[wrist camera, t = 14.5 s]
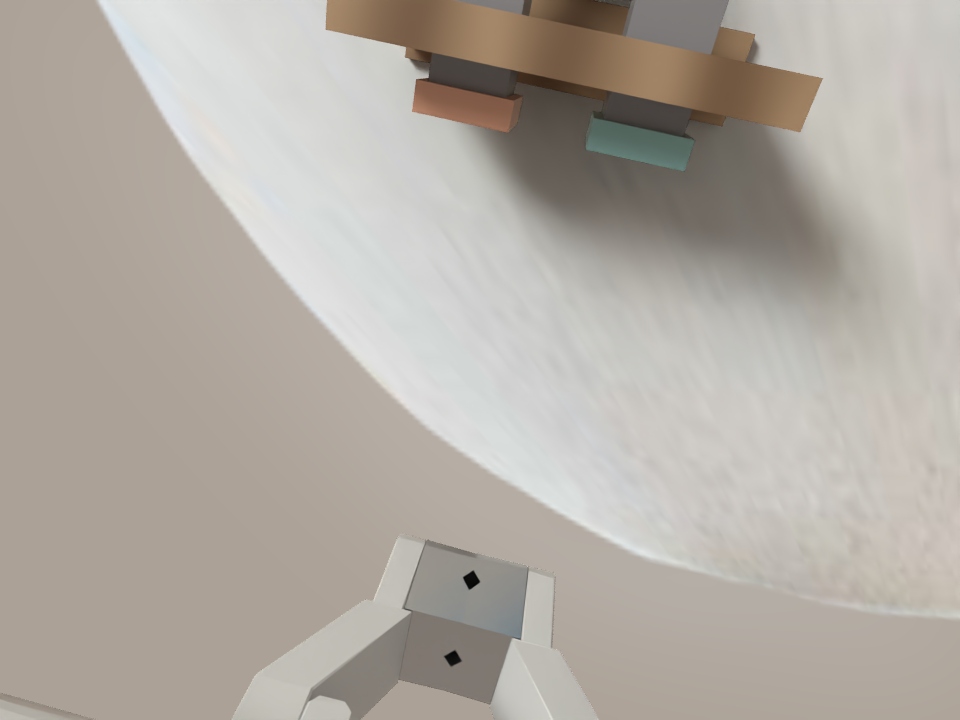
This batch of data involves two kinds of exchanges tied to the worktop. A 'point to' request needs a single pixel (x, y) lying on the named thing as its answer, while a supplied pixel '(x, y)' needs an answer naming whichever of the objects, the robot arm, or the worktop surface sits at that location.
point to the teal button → (647, 123)
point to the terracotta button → (472, 85)
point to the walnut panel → (587, 55)
